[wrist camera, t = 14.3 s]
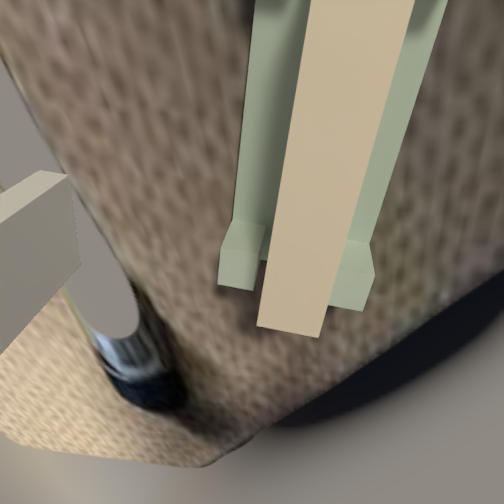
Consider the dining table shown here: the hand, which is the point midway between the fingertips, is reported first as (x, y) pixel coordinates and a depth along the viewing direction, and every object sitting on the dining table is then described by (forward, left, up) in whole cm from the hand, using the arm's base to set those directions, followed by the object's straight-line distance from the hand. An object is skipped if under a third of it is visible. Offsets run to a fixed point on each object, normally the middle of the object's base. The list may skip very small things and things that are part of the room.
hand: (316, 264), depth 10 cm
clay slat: (0, 0, -17) cm, 17 cm away
